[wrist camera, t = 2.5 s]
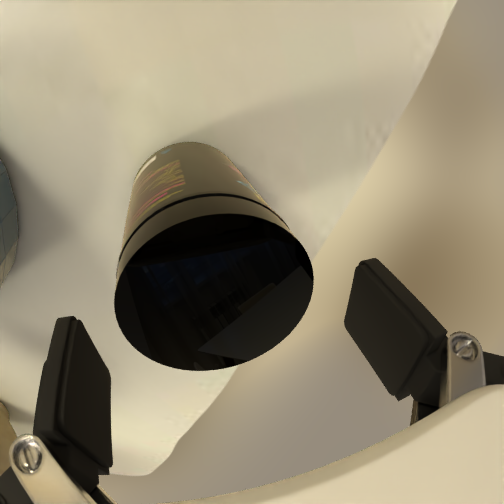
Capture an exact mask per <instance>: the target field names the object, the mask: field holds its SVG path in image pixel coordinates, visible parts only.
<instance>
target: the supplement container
mask: <svg viewBox="0 0 504 504" xmlns="http://www.w3.org/2000/svg"><path fill="white" fill-rule="evenodd" d="M313 280H314V276H313V269H312V265H311V261H310V259H309V256H308V254H307V252H306V251H305V249H304V247H303V246H302V245H301V243H300V242H299V241H298V240H297V238H296V237H295V236H294V235H293V233H292V232H291V231H290V229H289V228H288V226H287V225H286V223H285V222H284V221H283V220H282V218H281V217H280V216H279V215H278V214H277V213H276V212H275V211H274V210H272V209H271V208H270V207H269V206H268V204H267V203H266V202H265V201H264V199H263V198H262V197H261V196H260V195H259V193H258V192H257V191H256V190H255V189H254V188H253V186H252V185H251V184H250V183H249V182H248V180H247V179H246V178H245V177H244V176H243V174H242V173H241V172H240V171H239V170H238V169H237V167H236V166H235V165H234V164H233V163H232V162H231V160H230V159H229V158H228V157H227V156H226V155H225V154H223V153H222V152H221V151H219V150H218V149H216V148H214V147H212V146H209V145H206V144H202V143H197V142H182V143H177V144H173V145H170V146H167V147H165V148H163V149H161V150H159V151H157V152H156V153H155V154H153V155H152V156H151V157H150V158H148V159H147V161H146V162H145V163H144V164H143V165H142V167H141V168H140V170H139V171H138V173H137V175H136V177H135V180H134V183H133V187H132V192H131V197H130V202H129V207H128V213H127V218H126V224H125V230H124V236H123V242H122V249H121V253H120V255H119V260H118V264H117V274H116V288H115V299H114V307H115V314H116V319H117V322H118V325H119V327H120V329H121V331H122V333H123V334H124V336H125V337H126V339H127V340H128V341H129V342H130V344H131V345H132V346H133V347H134V348H135V349H137V350H138V351H139V352H140V353H142V354H143V355H144V356H146V357H148V358H149V359H151V360H153V361H155V362H157V363H160V364H163V365H165V366H169V367H172V368H177V369H182V370H191V371H208V370H218V369H223V368H228V367H232V366H236V365H239V364H242V363H245V362H247V361H250V360H252V359H254V358H256V357H258V356H260V355H262V354H264V353H266V352H267V351H269V350H270V349H272V348H273V347H275V346H276V345H277V344H278V343H280V342H281V341H282V340H283V339H284V338H286V337H287V336H288V335H289V334H290V333H291V331H292V330H293V329H294V328H295V327H296V326H297V324H298V323H299V321H300V320H301V318H302V317H303V315H304V314H305V312H306V310H307V307H308V305H309V302H310V300H311V295H312V292H313Z"/></svg>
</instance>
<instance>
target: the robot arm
mask: <svg viewBox="0 0 504 504" xmlns="http://www.w3.org/2000/svg"><path fill="white" fill-rule="evenodd" d="M344 324H345V328H346V330H347V331H348V333H349V334H350V335H351V337H352V338H353V340H354V341H355V343H356V344H357V346H358V347H359V349H360V350H361V352H362V353H363V355H364V356H365V357H366V359H367V360H368V362H369V363H370V365H371V366H372V368H373V369H374V371H375V372H376V374H377V375H378V377H379V378H380V380H381V381H382V383H383V384H384V386H385V387H386V389H387V390H388V392H389V393H390V394H391V395H393V396H394V395H395V397H396V398H397V400H398V401H400V400H402V399H403V398H405V397H407V396H409V395H410V394H411V396H412V397H413V399H414V401H413V409H412V416H411V423H410V426H409V427H407V428H406V429H404V430H402V431H400V432H398V433H396V434H394V435H392V436H390V437H389V438H387V439H385V440H383V441H381V442H379V443H376V444H374V445H372V446H370V447H368V448H366V449H364V450H361V451H359V452H357V453H355V454H353V455H350V456H348V457H345V458H343V459H341V460H338V461H336V462H333V463H331V464H328V465H326V466H323V467H320V468H317V469H315V470H312V471H309V472H306V473H303V474H300V475H297V476H294V477H291V478H288V479H285V480H281V481H277V482H274V483H270V484H267V485H263V486H259V487H255V488H251V489H247V490H242V491H238V492H234V493H229V494H224V495H219V496H213V497H207V498H201V499H194V500H186V501H178V502H169V503H158V504H504V356H499V355H495V354H491V353H487V352H483V351H482V347H481V345H480V343H479V342H478V340H477V339H476V338H475V337H474V336H472V335H470V334H468V333H466V332H455V333H453V334H452V335H450V337H449V338H448V337H447V336H446V334H447V330H446V329H445V328H444V327H443V326H442V325H441V324H440V323H439V322H438V321H437V319H436V318H435V317H434V316H433V315H432V314H431V313H430V312H429V311H428V310H427V309H426V308H425V307H424V305H423V304H422V303H421V302H420V301H419V300H418V299H417V298H416V297H415V296H414V295H413V294H412V293H411V292H410V291H409V290H408V289H407V288H406V287H405V286H404V285H403V284H402V283H401V282H400V281H399V280H398V279H397V278H396V277H395V276H394V275H393V274H392V273H391V272H390V271H389V270H388V269H387V268H386V267H385V266H384V265H383V264H382V263H381V262H380V261H379V260H378V259H376V258H372V259H368V260H364V261H361V262H360V263H359V265H358V266H357V267H356V269H355V273H354V279H353V284H352V288H351V293H350V298H349V302H348V307H347V311H346V315H345V319H344ZM9 462H10V464H11V466H10V467H9V468H8V469H7V470H6V471H5V472H4V473H3V474H2V475H1V476H0V504H117V503H116V502H115V501H114V500H113V499H112V498H111V497H110V496H109V495H108V494H107V493H106V492H105V491H104V490H103V489H102V488H101V486H99V476H98V475H109V467H112V465H113V457H112V440H111V377H110V373H109V370H108V368H107V367H106V365H105V363H104V362H103V360H102V358H101V356H100V355H99V353H98V351H97V349H96V348H95V346H94V344H93V342H92V340H91V338H90V336H89V335H88V333H87V331H86V329H85V327H84V325H83V323H82V321H81V320H77V319H76V318H75V317H74V316H69V317H62V318H58V319H57V321H56V324H55V328H54V331H53V335H52V339H51V344H50V348H49V352H48V357H47V360H46V361H45V363H44V366H43V370H42V375H41V380H40V386H39V392H38V398H37V404H36V411H35V419H34V427H33V435H32V434H24V435H21V436H19V437H17V438H16V439H15V440H14V441H13V443H12V445H11V447H10V450H9Z"/></svg>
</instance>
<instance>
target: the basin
mask: <svg viewBox="0 0 504 504" xmlns="http://www.w3.org/2000/svg"><path fill="white" fill-rule="evenodd" d="M18 237H19V233H18V221H17V204H16V201H15V197H14V194H13V191H12V187H11V183H10V180H9V176H8V172H7V171H6V168H5V166H4V164H3V162H2V160H1V158H0V288H1V286H2V284H3V282H4V280H5V278H6V276H7V275H8V273H9V271H10V269H11V267H12V265H13V263H14V259H15V253H16V248H17V242H18Z"/></svg>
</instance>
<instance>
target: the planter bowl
mask: <svg viewBox="0 0 504 504" xmlns="http://www.w3.org/2000/svg"><path fill="white" fill-rule="evenodd" d="M16 438H17V436H16V434H15V432H14V430H13V428H12V426H11V424H10V422H9V413H8V411H7V409H6V408H5V406H4V405H3V404H2V403H1V402H0V476H1V475H2V474H3V473H4V472H5V471H6V470H7V469H8V468H9V467H10V466H11V464H10V462H9V450H10V447H11V445H12V443H13V441H14V440H15V439H16Z"/></svg>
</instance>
